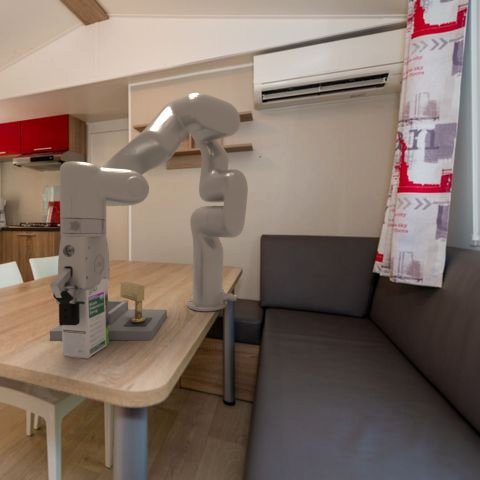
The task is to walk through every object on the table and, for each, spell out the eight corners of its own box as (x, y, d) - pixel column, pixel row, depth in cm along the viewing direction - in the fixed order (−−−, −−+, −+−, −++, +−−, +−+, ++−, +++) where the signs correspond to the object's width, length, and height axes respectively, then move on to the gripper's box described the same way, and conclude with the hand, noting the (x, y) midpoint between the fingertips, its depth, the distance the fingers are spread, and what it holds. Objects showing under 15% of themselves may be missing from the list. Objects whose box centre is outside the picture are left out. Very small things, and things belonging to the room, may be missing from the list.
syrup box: (88, 359, 46) (87, 282, 45) (60, 356, 47) (59, 281, 46) (109, 345, 51) (109, 276, 50) (84, 342, 52) (83, 275, 51)
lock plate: (166, 316, 68) (166, 300, 68) (151, 340, 54) (151, 320, 54) (86, 316, 67) (86, 300, 66) (49, 340, 53) (49, 319, 53)
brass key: (136, 324, 56) (136, 288, 56) (117, 316, 61) (117, 283, 60) (148, 319, 59) (148, 285, 59) (129, 313, 63) (129, 280, 63)
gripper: (77, 229, 39) (78, 333, 40) (123, 228, 56) (123, 301, 57) (28, 228, 39) (30, 333, 40) (89, 227, 56) (90, 301, 57)
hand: (85, 314), depth 48 cm, fingers open, 9 cm apart
